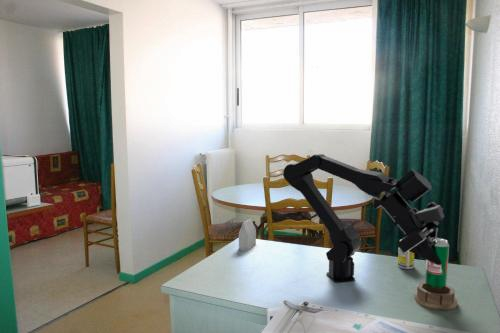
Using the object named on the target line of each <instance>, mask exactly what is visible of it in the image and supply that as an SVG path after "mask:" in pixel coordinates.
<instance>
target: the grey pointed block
mask: <svg viewBox="0 0 500 333" xmlns="http://www.w3.org/2000/svg"><path fill="white" fill-rule="evenodd" d="M253 222H254V221H253V218H249V219H247V220H245V221H243V222H241V223H242V224H241V227H240V230H239V232H238V250H242V251H249V250H251V249H252V248H254V247H255V246H257V232H256V231H257V229H256V226H255V224H254V223H253Z"/></svg>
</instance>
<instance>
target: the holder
mask: <svg viewBox="0 0 500 333" xmlns="http://www.w3.org/2000/svg"><path fill="white" fill-rule="evenodd" d="M455 294H456V290H455V288H453V287H452V286H450V285H448V284H447V283H446V286H445V287H443V288H434V287H431V286H429V285H427V284H426V282H425V281H421V282H419V283H418V285H417V291H415V293H414V301H415V302H416V303H417V304H419V305H420V306H422V307H424V308H428V309H430V310H431V309H432V310H434V311H451V310H455V309H456V308H457V306H458V299H457V298H456V297H455Z"/></svg>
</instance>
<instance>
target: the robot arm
mask: <svg viewBox="0 0 500 333" xmlns="http://www.w3.org/2000/svg"><path fill="white" fill-rule="evenodd" d="M317 170H320V171H323V172H325V173H327V174H331V175H332V176H335V177H337V178H340V179H343V180H345V181H347V182H350V183H352V184H353V185H355V186H356V187H357V188H358V190H360V191H362V192H364V193H365V194H366V195H368V196H370V197H376V198H374V199H373V206H372V208H373V210H376V209H379V208H380V207H381V208H382V209H383V210H384V211H385V212H386V213H387V214H388V216H389V217H390V218H391V219H392V221H393V222H392V224H393V225H394V227H396V226H397V227H399V229H400V230H401V231H402V232H403V233H404V235H403V238H402V239H400V240H401V241H400V240H399V241H398V247H399V248H400V249H401V251H402V252H403V253H405V252H406V251H408V250H409V249H410V250H409V252H413V253H414V255H417V256H419V257H421V258H423V259H425V260H426V259H427V260H429V261H431V262H433V263H435V264H437V265H440V264H442V262H441V260H440V258H439V257H438V255H437V254H436V252H435V251H434V249H433V248H432V246H431V245H430V238H434V237H435V238H438V232H439V227H437V226H439V224H440V221H442V220H443V218H445V214H444V212H443V210H444V208H443V207H441V205H440V204H438V203H436V202H435V201H433V202H429V203H428V204H427V205H426V208H424V209H422V210H419V209H418V208H417V207H412V206H411V205H409V203H408V202H409V201H410V202H412V203H415V202H416V201H417V200H419V199H420V198H421V197H423V196H424V195H425V194H427V193H428V192H429V191H431V190H432V188H433V187H432V185H431V182H430V181H429V180H428V179H427V178H426V177H425V176H423V175H422V174H420V173H419V172H417V171H416V170H415V169H413V168H412V169H410V170H409V171H408V172H407V173H406V174H405V175H403V177H402V178H400V179H396V178H393V177H392V178H391V177H389V176H388V175H387V174H386V173H384V172H379V171H373V170H368V169H362V168H361V169H360V168H357V167H354V166H352V165H349V164H347V163H345V162H342V161H339V160H338V159H335V158H333V157H332V158H331V157H329V156H326V155H325V154H324V153H317V154H313V155H311V156H310V157H308V158H306V159H303V160H301V161H299V162H295V163H289V164H287V165H285V167H284V168H283V173H282V175H283V178H284V180H285V181H286V182H287V183H288V184H289V185H290V186H291V187H292V188H294V189H295V190H297V191H298V192H300V193H301V195H302V196H303V197H304V199H305V200H306V201H307V203H308V204H309V206H310V207H311V209H312V210H313V212H314V213H315V214H316V216H317V217H318V219H319V220H320V221H321V222H322V224H323V226H324V227H325V228H326V230H327V231H328V234H329V241H330V244H331V245H332V247H331V249H329V250H327V252H326V253H325V254H326V259H327V260H328V271H327V272H326V273H325V274H326V276H328V278H330V279H331V280H332V281H333V282H334V283H341V282H350V281H356V278H355V276H354V275H355V262H354V258H353V257H352V256H354V255H355V253H356V252H357V251H358V250H359V249H360V248H361V244H362V239H361V238H360V236H361V234H360V233H359V232H358V231H357V230H356V228H355V227H354V225H353V224H351V223H350V224H348V225H346V224H345V223H344V222H342V220H341V219H340V217H339V216H338V215H337V214H336V212H335V211H334V210H333V208H332V207H331V205H330V204H329V202H328V201H327V199H326V198H325V197H324V195H322V193H321V192H320V190H319V188H318V187H317V186H316V184H315V181H314V177H313V174H312V173H314V172H315V171H317ZM394 189H395V191H393V190H394ZM390 191H393V192H392V193H390ZM383 193H385V194H383ZM381 194H383V195H382V196H381V197H380V198H378V197H377V196H379V195H381Z"/></svg>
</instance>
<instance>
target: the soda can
mask: <svg viewBox="0 0 500 333" xmlns="http://www.w3.org/2000/svg"><path fill="white" fill-rule="evenodd" d="M430 245H431V246H432V248H433V249H434V251H435V252H436V254H437V255H438V257H439V258H440V260H441V262H442V264H440V265H437V264H435V263H433V262H431V261H429V260H427V259H425V274H424V275H425V276H424V282H426V284H427V285H429V286H431V287H434V288H443V287H445V286H446V284H447V280H448V267H449V265H448V264H449V253H450V244H449V240H447V239H445V238H442V237H437V238H435V237H434V238H430Z"/></svg>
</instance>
